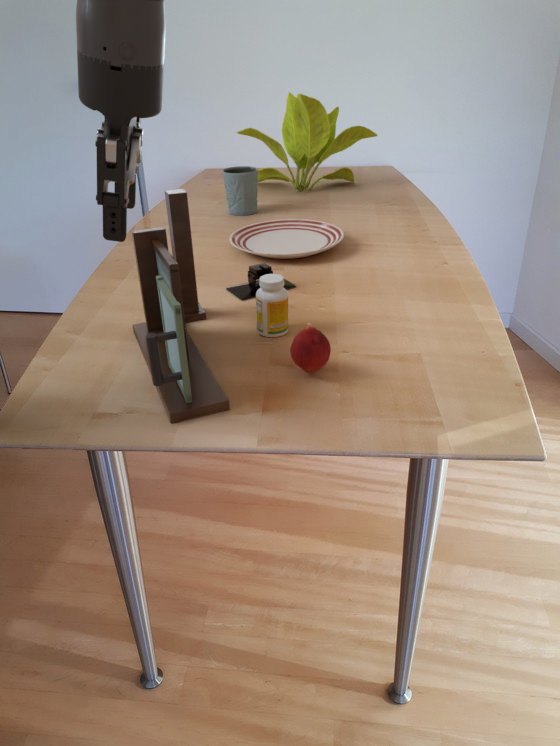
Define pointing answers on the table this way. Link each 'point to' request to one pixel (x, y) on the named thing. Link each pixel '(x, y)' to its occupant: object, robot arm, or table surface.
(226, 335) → the table surface
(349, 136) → the artificial plant
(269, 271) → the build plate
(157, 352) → the window sash
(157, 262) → the window frame
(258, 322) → the supplement bottle
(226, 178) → the embossed green cup
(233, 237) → the dinner plate
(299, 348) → the onion
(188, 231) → the end post
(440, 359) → the table surface
